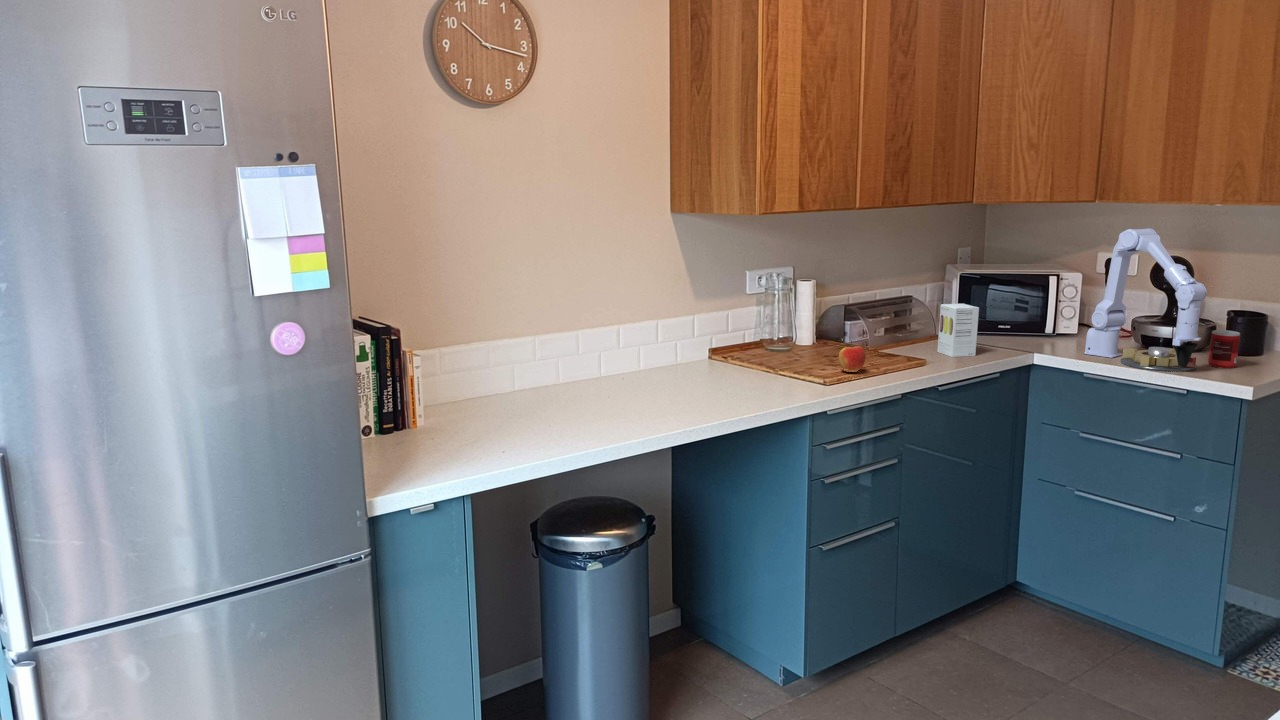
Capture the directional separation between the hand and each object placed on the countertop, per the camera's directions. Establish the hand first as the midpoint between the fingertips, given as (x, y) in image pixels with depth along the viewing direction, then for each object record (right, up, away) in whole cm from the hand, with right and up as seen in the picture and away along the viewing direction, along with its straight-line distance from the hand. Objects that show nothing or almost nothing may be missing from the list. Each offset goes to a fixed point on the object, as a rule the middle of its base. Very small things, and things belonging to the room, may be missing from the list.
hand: (1182, 365), depth 282 cm
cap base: (-2, 0, +10) cm, 10 cm away
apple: (-103, -2, +1) cm, 103 cm away
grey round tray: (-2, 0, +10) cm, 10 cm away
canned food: (+17, 0, +8) cm, 19 cm away
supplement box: (-60, +4, +29) cm, 67 cm away
